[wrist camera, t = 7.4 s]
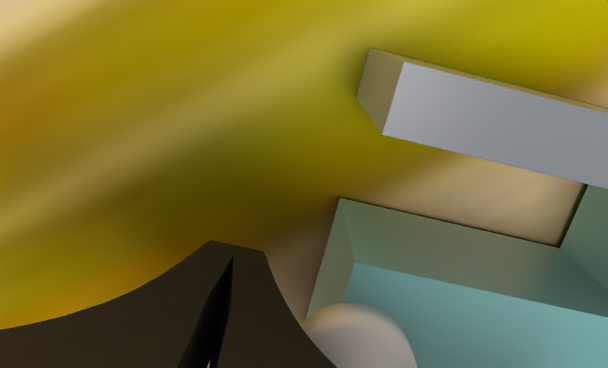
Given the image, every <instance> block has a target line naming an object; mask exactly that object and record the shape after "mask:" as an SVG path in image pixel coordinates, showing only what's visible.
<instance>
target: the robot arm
mask: <svg viewBox="0 0 608 368" xmlns="http://www.w3.org/2000/svg"><path fill="white" fill-rule="evenodd" d="M209 361H210V365H209V368H337V367H336V366H335V365H334V364H333V363H332V362H331V361H330V360H329V359H328V358H327V357H326V356H325V355H324V354H323V353H322V352H321V351H320V350H319V348H318V347H317V346H316V345H315V344H314V343H313V341H312V340H311V339H310V338H309V336H308V335H307V334H306V333H305V331H304V330H303V329H302V328H301V326H300V325H299V324H298V322H297V320H296V319H295V317H294V316H293V314H292V312H291V311H290V309H289V307H288V306H287V304H286V302H285V300H284V298H283V296H282V294H281V292H280V290H279V288H278V286H277V284H276V282H275V280H274V277H273V275H272V273H271V270H270V267H269V265H268V261H267V258H266V256H265V254H264V252H263V251H258V250H254V249H249V248H245V247H240V246H235V245H231V244H226V243H221V242H217V241H212V240H210V241H208V242H206V243H205V244H203V245H202V246H201V247H200V248H199V249H197V250H196V251H195V252H193V253H192V254H191V255H190V256H188V257H187V258H185V259H184V260H183V261H181V262H180V263H178V264H177V265H175V266H174V267H173V268H171V269H170V270H168V271H167V272H165V273H164V274H162V275H160V276H159V277H157V278H155V279H153V280H152V281H150V282H148V283H146V284H145V285H143V286H141V287H139V288H138V289H135V290H133V291H131V292H129V293H127V294H125V295H122V296H120V297H117V298H115V299H113V300H110V301H108V302H105V303H103V304H100V305H97V306H93V307H90V308H87V309H84V310H81V311H78V312H75V313H72V314H69V315H66V316H62V317H58V318H54V319H50V320H46V321H42V322H38V323H33V324H29V325H24V326H19V327H14V328H9V329H3V330H0V368H207V367H208V364H209Z"/></svg>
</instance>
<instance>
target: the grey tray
mask: <svg viewBox="0 0 608 368" xmlns="http://www.w3.org/2000/svg"><path fill="white" fill-rule="evenodd" d="M356 99H357V100H358V102H359V103H360V104H361V106H362V107H363V109H364V110H365V111H366V113H367V114H368V115H369V117H370V118H371V120H372V121H373V122H374V124H375V125H376V127H377V128H378V129H379V131H380V132H381V134H382V135H386V136H390V137H395V138H399V139H403V140H407V141H411V142H415V143H419V144H423V145H428V146H432V147H436V148H440V149H444V150H448V151H452V152H457V153H461V154H465V155H469V156H473V157H477V158H481V159H485V160H490V161H494V162H498V163H502V164H506V165H510V166H514V167H519V168H523V169H527V170H531V171H535V172H539V173H543V174H547V175H552V176H556V177H560V178H564V179H568V180H572V181H576V182H581V183H585V184H589V185H593V186H597V187H601V188H605V189H608V109H607V108H603V107H599V106H595V105H591V104H587V103H583V102H580V101H576V100H572V99H568V98H564V97H560V96H556V95H552V94H548V93H544V92H541V91H537V90H533V89H529V88H525V87H521V86H517V85H513V84H509V83H506V82H502V81H498V80H494V79H490V78H486V77H482V76H478V75H474V74H471V73H467V72H463V71H459V70H455V69H451V68H447V67H443V66H439V65H436V64H432V63H428V62H424V61H420V60H416V59H412V58H408V57H404V56H400V55H397V54H393V53H389V52H385V51H381V50H377V49H373V48H369V51H368V55H367V59H366V62H365V66H364V69H363V73H362V77H361V80H360V84H359V87H358V91H357V95H356Z"/></svg>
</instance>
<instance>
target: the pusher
mask: <svg viewBox="0 0 608 368" xmlns="http://www.w3.org/2000/svg"><path fill="white" fill-rule="evenodd" d="M300 326H301V328H302V329H303V330H304V331H305V333H306V334H307V335H308V336H309V338H310V339H311V340H312V341H313V343H314V344H315V345H316V346H317V347H318V348H319V350H320V351H321V352H322V353H323V354H324V355H325V356H326V357H327V358H328V359H329V360H330V361H331V362H332V363H333V364H334V365H335V366H336V367H337V368H608V189H605V188H601V187H597V186H593V185H588V187H587V189H586V191H585V194H584V196H583V198H582V200H581V203H580V205H579V207H578V209H577V211H576V214H575V216H574V218H573V220H572V223H571V225H570V227H569V229H568V231H567V234H566V236H565V238H564V240H563V243H562V245H561V247H560V248H557V247H553V246H548V245H544V244H539V243H535V242H531V241H526V240H522V239H518V238H513V237H509V236H505V235H500V234H496V233H491V232H487V231H483V230H478V229H474V228H470V227H465V226H461V225H456V224H452V223H448V222H443V221H439V220H435V219H430V218H426V217H422V216H417V215H413V214H408V213H404V212H400V211H395V210H391V209H387V208H382V207H378V206H373V205H369V204H365V203H360V202H356V201H352V200H347V199H343V198H340V199H339V203H338V206H337V210H336V213H335V217H334V220H333V224H332V227H331V231H330V234H329V238H328V241H327V245H326V248H325V252H324V255H323V259H322V262H321V266H320V269H319V273H318V276H317V280H316V283H315V287H314V290H313V294H312V297H311V301H310V304H309V308H308V311H307V315H306V318H305V321H304V322H303V323H302V324H301V325H300Z"/></svg>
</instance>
